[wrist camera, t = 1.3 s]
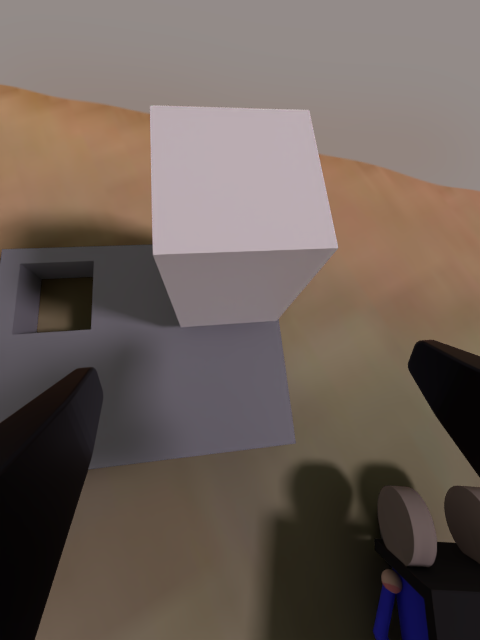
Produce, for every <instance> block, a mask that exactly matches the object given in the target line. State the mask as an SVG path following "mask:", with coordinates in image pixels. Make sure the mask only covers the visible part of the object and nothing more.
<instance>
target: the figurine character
mask: <svg viewBox="0 0 480 640" xmlns="http://www.w3.org/2000/svg"><path fill="white" fill-rule="evenodd" d="M444 509H445V516H446V521H447V524H448V527H449V530H450V532H451V535H452V537H453V539H454V540H455V542H456V543H447V542H437V539H436V532H435V527H434V523H433V520H432V517H431V514H430V512H429V510H428V508H427V506H426V504H425V502H424V500H423V499H422V497H421V496H420V495H419V494H418V493H417V492H416V491H415V490H414V489H412V488H410V487H403V486H384V487H383V488H382V489H381V491H380V493H379V497H378V520H379V526H380V533H381V539H375V538H374V542H375V551H376V552H377V553H378V554H379V555H380V556H381V557H382V558H383V559H384V560H386V561H387V563H388V564H389V566H392V568H393V570H391V569H386V570H384V571H383V572H382V575H381V580H382V583H383V585H382V590H381V595H380V599H379V604H378V609H377V614H376V619H375V623H374V628H373V633H374V636H375V638H376V640H389V638H388V631H389V626H390V621H391V616H392V611H393V605H394V600H395V595H396V598H397V606H398V613H399V621H400V629H401V636H402V640H480V487H469V486H453V487H451V488H450V489H449V490H448V492H447V494H446V496H445V502H444Z"/></svg>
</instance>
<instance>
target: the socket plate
mask: <svg viewBox="0 0 480 640" xmlns="http://www.w3.org/2000/svg"><path fill="white" fill-rule="evenodd" d="M80 277H93V295H92V319H91V329H90V330H75V331H60V332H45V333H37V324H38V313H39V302H40V291H41V280H42V279H57V278H80ZM85 367H93V368H95V369H96V371H97V373H98V376H99V380H100V383H101V386H102V389H103V404H102V409H101V414H100V419H99V424H98V430H97V435H96V440H95V445H94V450H93V454H92V458H91V462H90V465H89V469H95V468H103V467H111V466H119V465H127V464H135V463H143V462H151V461H159V460H167V459H175V458H183V457H191V456H199V455H207V454H215V453H223V452H231V451H239V450H247V449H255V448H263V447H270V446H278V445H286V444H294V443H296V441H295V434H294V427H293V420H292V413H291V405H290V398H289V391H288V384H287V377H286V369H285V362H284V355H283V348H282V341H281V333H280V326H279V319H278V320H277V321H266V322H251V323H236V324H222V325H207V326H192V327H181V326H180V324H179V321H178V319H177V316H176V313H175V311H174V308H173V306H172V303H171V300H170V298H169V295H168V293H167V290H166V287H165V285H164V282H163V280H162V277H161V275H160V272H159V269H158V267H157V264H156V262H155V259H154V256H153V245H124V246H92V247H60V248H28V249H2V254H1V261H0V423H1V422H2V421H3V420H5V419H6V418H8V417H9V416H10V415H12V414H13V413H15V412H16V411H17V410H19V409H20V408H22V407H23V406H24V405H26V404H27V403H29V402H30V401H31V400H33V399H34V398H36V397H37V396H38V395H40V394H41V393H43V392H44V391H45V390H47V389H48V388H50V387H51V386H52V385H54V384H55V383H57V382H58V381H59V380H61V379H62V378H64V377H65V376H66V375H68V374H69V373H71V372H72V371H73V370H75V369H77V368H85Z"/></svg>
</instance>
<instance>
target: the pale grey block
mask: <svg viewBox="0 0 480 640" xmlns="http://www.w3.org/2000/svg"><path fill="white" fill-rule="evenodd" d="M150 131H151V183H152V236H153V256H154V259H155V262H156V264H157V267H158V269H159V272H160V275H161V277H162V280H163V282H164V285H165V287H166V290H167V293H168V295H169V298H170V300H171V303H172V306H173V308H174V311H175V313H176V316H177V319H178V321H179V324H180V326H181V327H192V326H207V325H222V324H236V323H251V322H266V321H277V320H278V319H279V317H280V316H281V315H282V314H283V313H284V311H285V310H286V309H287V308H288V307H289V306H290V304H291V303H292V302H293V301H294V300H295V298H296V297H297V296H298V295H299V294H300V293H301V291H302V290H303V289H304V288H305V287H306V286H307V284H308V283H309V282H310V281H311V280H312V278H313V277H314V276H315V275H316V274H317V273H318V271H319V270H320V269H321V268H322V267H323V265H324V264H325V263H326V262H327V261H328V260H329V258H330V257H331V256H332V255H333V254H334V253H335V251H336V250H337V249H338V245H337V240H336V235H335V230H334V226H333V221H332V216H331V211H330V207H329V202H328V197H327V192H326V188H325V183H324V178H323V173H322V169H321V164H320V159H319V155H318V150H317V145H316V141H315V136H314V131H313V126H312V122H311V117H310V112H309V110H289V109H255V108H220V107H188V106H153V105H150Z"/></svg>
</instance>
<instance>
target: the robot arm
mask: <svg viewBox="0 0 480 640" xmlns="http://www.w3.org/2000/svg"><path fill="white" fill-rule="evenodd" d="M408 369H409V371H410V373H411V375H412V377H413V378H414V380H415V382H416V383H417V385H418V387H419V389H420V390H421V392H422V394H423V395H424V397H425V399H426V400H427V402H428V404H429V406H430V407H431V409H432V411H433V412H434V414H435V415H436V417H437V418H438V420H439V421H440V423H441V424H442V426H443V427H444V428H445V430H446V431H447V432H448V434H449V435H450V437H451V438H452V439H453V441H454V442H455V444H456V445H457V446H458V448H459V449H460V451H461V452H462V453H463V455H464V456H465V458H466V459H467V460H468V462H469V463H470V465H471V466H472V467H473V469H474V470H475V472H476V473H477V474H478V476H479V477H480V356H477V355H475V354H472V353H469V352H466V351H463V350H460V349H458V348H455V347H452V346H449V345H446V344H443V343H441V342H438V341H435V340H421V341H418V342H417V343H416V344H415V346H414V349H413V351H412V354H411V356H410V359H409V362H408ZM102 404H103V389H102V386H101V383H100V380H99V376H98V373H97V371H96V369H95V368H93V367H85V368H77V369H75V370H73V371H72V372H71V373H69V374H68V375H66V376H65V377H64V378H62V379H61V380H59V381H58V382H57V383H55V384H54V385H52V386H51V387H50V388H48V389H47V390H45V391H44V392H43V393H41V394H40V395H38V396H37V397H36V398H34V399H33V400H31V401H30V402H29V403H27V404H26V405H24V406H23V407H22V408H20V409H19V410H17V411H16V412H15V413H13V414H12V415H10V416H9V417H8V418H6V419H5V420H3V421H2V422H1V423H0V640H35V637H36V634H37V631H38V628H39V624H40V621H41V618H42V615H43V612H44V608H45V605H46V602H47V599H48V596H49V593H50V589H51V586H52V583H53V580H54V577H55V573H56V570H57V567H58V564H59V561H60V558H61V554H62V551H63V548H64V545H65V542H66V539H67V535H68V532H69V529H70V526H71V523H72V519H73V516H74V513H75V510H76V507H77V504H78V500H79V497H80V494H81V491H82V488H83V484H84V481H85V478H86V475H87V472H88V469H89V465H90V462H91V458H92V454H93V450H94V445H95V440H96V435H97V430H98V424H99V419H100V414H101V409H102Z"/></svg>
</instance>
